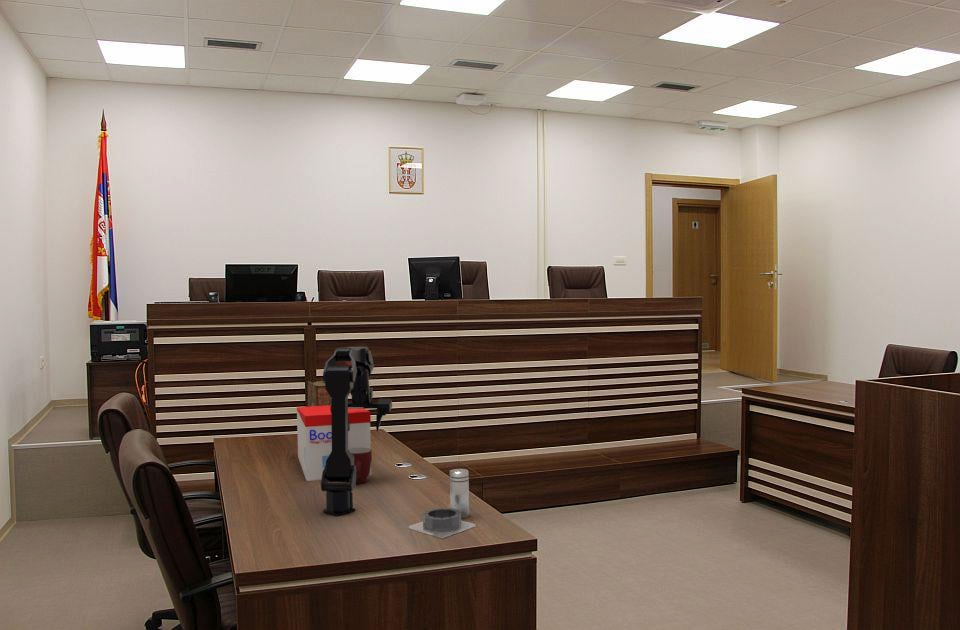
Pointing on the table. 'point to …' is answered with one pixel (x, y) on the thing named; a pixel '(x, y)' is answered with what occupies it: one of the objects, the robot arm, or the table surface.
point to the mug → (362, 463)
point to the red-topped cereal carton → (326, 436)
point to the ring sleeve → (442, 523)
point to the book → (318, 394)
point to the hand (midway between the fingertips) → (363, 430)
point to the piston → (459, 491)
